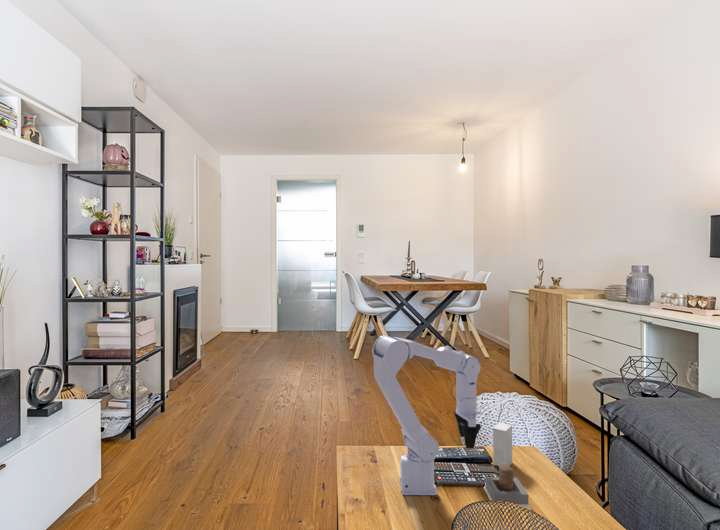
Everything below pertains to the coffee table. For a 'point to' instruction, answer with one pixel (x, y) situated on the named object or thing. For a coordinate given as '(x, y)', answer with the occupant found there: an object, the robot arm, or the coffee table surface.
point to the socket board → (507, 492)
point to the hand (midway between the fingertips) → (466, 442)
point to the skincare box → (502, 444)
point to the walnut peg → (505, 478)
